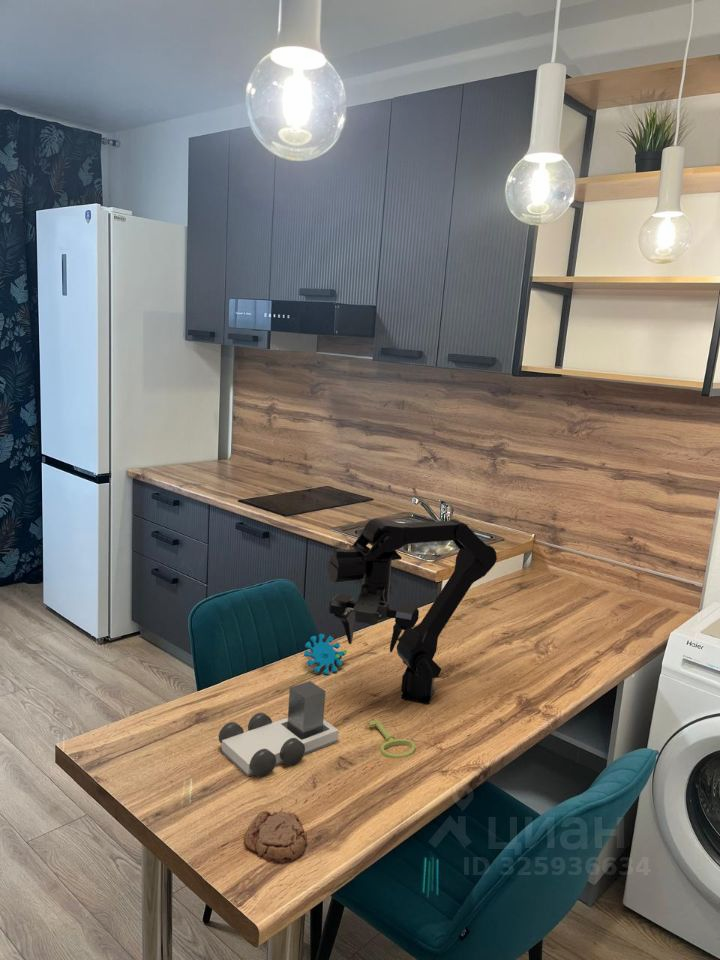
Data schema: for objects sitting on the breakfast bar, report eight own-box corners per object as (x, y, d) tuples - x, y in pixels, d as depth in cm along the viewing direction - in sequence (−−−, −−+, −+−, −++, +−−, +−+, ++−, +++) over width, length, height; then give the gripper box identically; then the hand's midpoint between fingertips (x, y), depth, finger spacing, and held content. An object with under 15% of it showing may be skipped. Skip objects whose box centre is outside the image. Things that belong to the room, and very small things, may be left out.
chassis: (304, 717, 152) (306, 697, 151) (342, 745, 143) (344, 724, 142) (217, 748, 139) (218, 726, 138) (253, 781, 130) (254, 757, 129)
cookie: (275, 874, 108) (276, 857, 108) (231, 838, 115) (232, 821, 115) (323, 844, 116) (324, 827, 115) (279, 811, 123) (280, 795, 122)
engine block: (307, 726, 148) (310, 681, 146) (322, 737, 144) (325, 691, 142) (286, 733, 145) (289, 687, 143) (301, 745, 141) (304, 698, 139)
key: (375, 725, 152) (376, 716, 152) (419, 752, 144) (420, 742, 143) (350, 737, 147) (351, 727, 147) (395, 765, 139) (396, 755, 138)
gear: (308, 672, 169) (303, 631, 174) (298, 681, 173) (295, 641, 179) (351, 673, 174) (345, 633, 179) (341, 681, 178) (336, 642, 183)
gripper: (322, 583, 150) (317, 653, 153) (411, 598, 145) (404, 671, 148) (339, 567, 160) (334, 634, 163) (422, 581, 155) (415, 650, 158)
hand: (370, 647), depth 158 cm, fingers open, 9 cm apart
